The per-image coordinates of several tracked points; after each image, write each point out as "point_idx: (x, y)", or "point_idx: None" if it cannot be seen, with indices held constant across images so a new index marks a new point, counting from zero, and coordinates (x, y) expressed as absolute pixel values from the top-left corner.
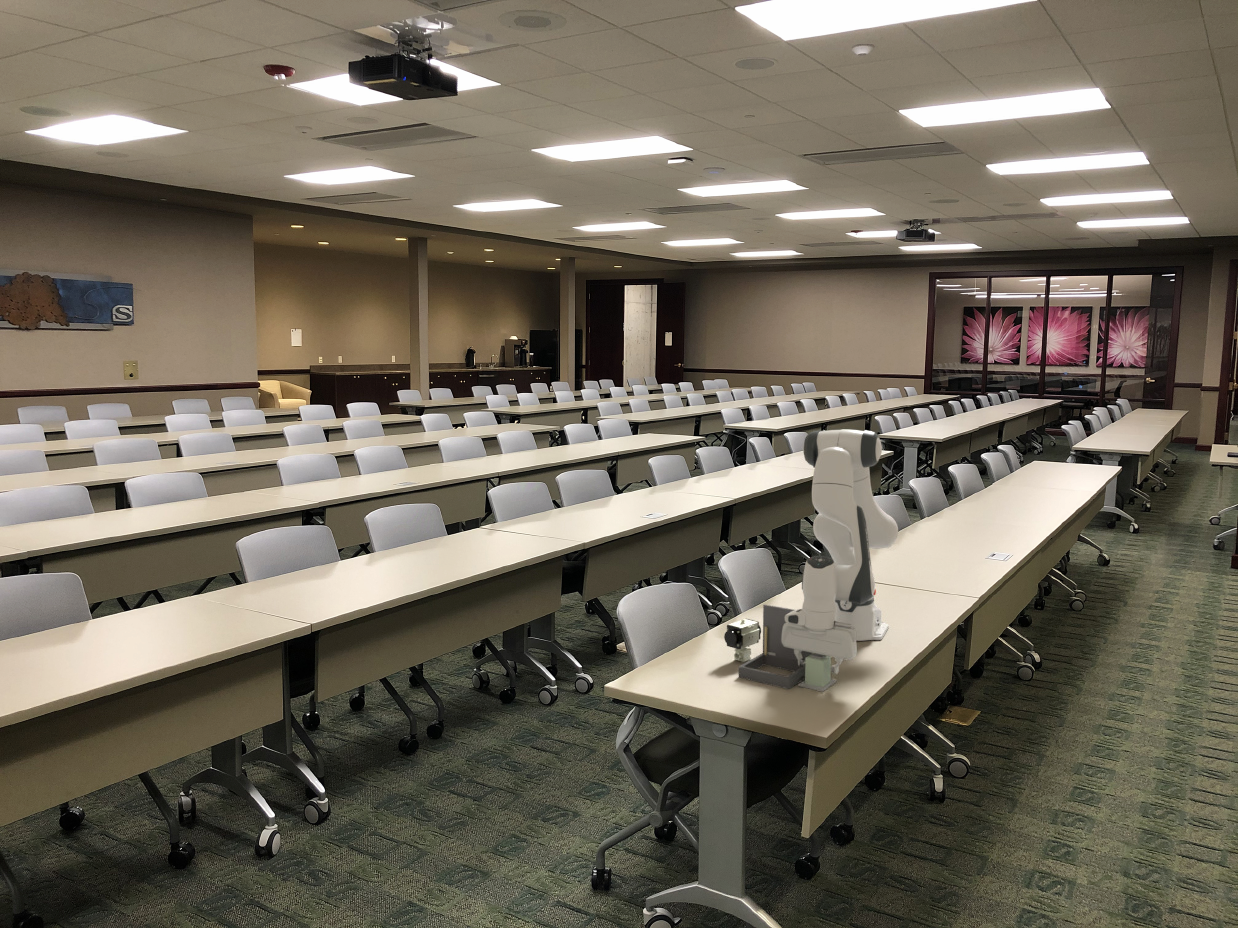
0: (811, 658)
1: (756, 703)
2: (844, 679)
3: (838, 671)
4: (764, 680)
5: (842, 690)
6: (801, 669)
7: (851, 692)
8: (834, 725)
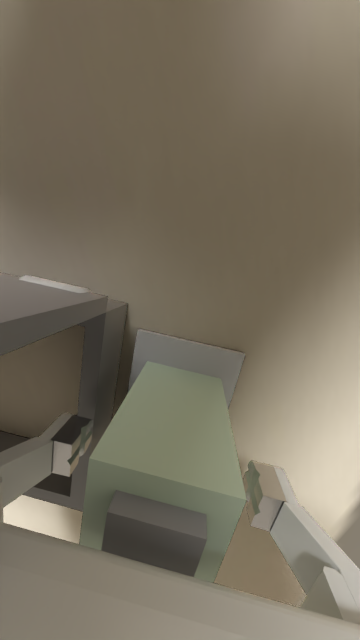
0: None
1: None
2: (272, 316)
3: (281, 469)
4: None
5: (275, 431)
6: (91, 412)
7: (310, 439)
8: None
